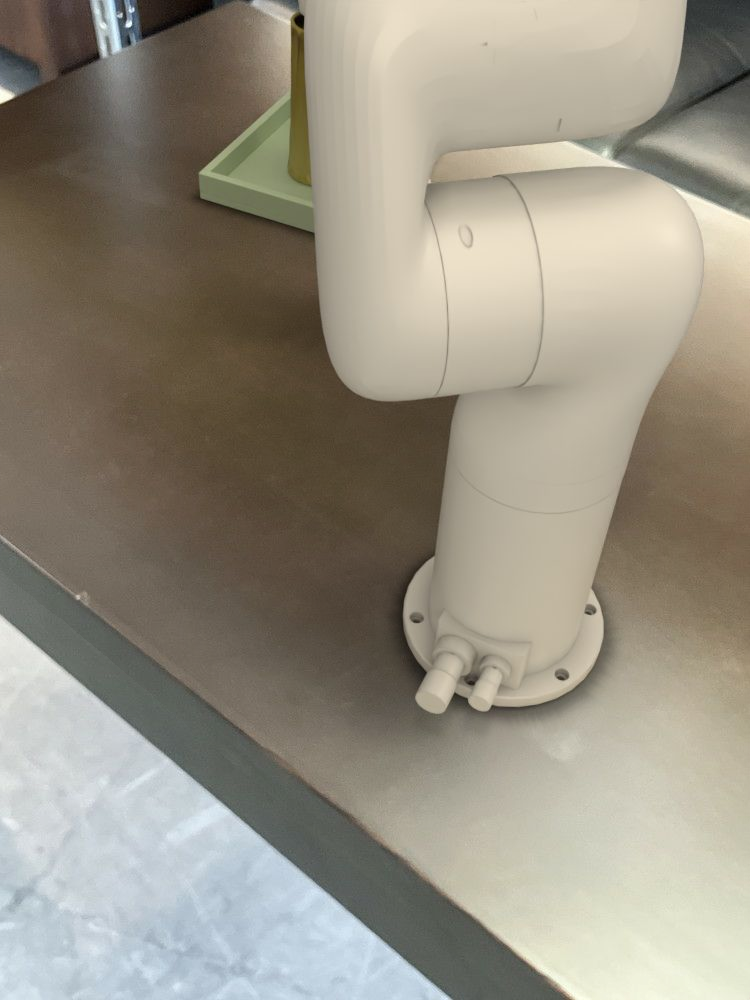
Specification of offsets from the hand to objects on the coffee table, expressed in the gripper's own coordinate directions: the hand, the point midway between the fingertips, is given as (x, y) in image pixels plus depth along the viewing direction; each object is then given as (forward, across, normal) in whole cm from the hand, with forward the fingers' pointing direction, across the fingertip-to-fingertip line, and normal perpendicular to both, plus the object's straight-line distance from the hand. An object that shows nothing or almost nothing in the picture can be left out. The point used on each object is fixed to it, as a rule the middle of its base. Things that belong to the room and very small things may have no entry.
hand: (321, 65), depth 100 cm
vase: (+10, 0, 0) cm, 10 cm away
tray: (+11, 0, 0) cm, 11 cm away
